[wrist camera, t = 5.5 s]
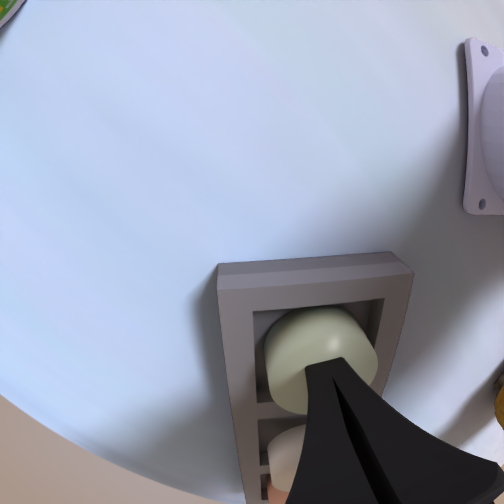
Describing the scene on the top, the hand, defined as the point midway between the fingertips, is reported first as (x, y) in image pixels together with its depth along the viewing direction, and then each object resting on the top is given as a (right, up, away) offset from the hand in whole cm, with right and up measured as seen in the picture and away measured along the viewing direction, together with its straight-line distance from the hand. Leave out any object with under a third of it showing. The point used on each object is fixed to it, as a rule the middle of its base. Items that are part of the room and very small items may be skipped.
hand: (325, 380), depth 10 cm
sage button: (0, +1, +2) cm, 2 cm away
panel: (0, -4, +5) cm, 7 cm away
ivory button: (0, -5, +3) cm, 6 cm away
